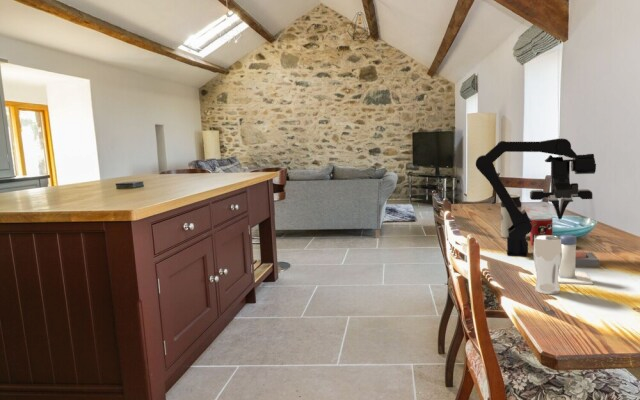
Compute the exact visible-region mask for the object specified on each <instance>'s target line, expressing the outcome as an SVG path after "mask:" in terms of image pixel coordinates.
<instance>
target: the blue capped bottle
mask: <svg viewBox="0 0 640 400" xmlns="http://www.w3.org/2000/svg"><path fill="white" fill-rule="evenodd" d="M559 237H561V245H562V259H561V265H560V270H559V271H560V276H561V277H564V278H574V277H575V272H576V267H575V260H576V251H577V236H575V235H570V234H562V235H559Z"/></svg>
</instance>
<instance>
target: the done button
mask: <svg viewBox="0 0 640 400" xmlns="http://www.w3.org/2000/svg"><path fill="white" fill-rule="evenodd" d="M586 252H587V251H584V250H576V258H586Z"/></svg>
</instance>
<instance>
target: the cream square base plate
mask: <svg viewBox="0 0 640 400" xmlns="http://www.w3.org/2000/svg"><path fill="white" fill-rule="evenodd" d="M558 284H569V285H591V286H592V285H594V283H593V281H592V280H591V278H590V277H589V276H588V275H587V273H586V272H585V271H575V277H574V278H564V277H561V276H560V270H559V275H558Z"/></svg>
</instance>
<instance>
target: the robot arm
mask: <svg viewBox="0 0 640 400" xmlns="http://www.w3.org/2000/svg"><path fill="white" fill-rule="evenodd" d="M508 152H509V153H511V152H512V153H515V152H516V153H522V152H523V153H544V154H550V155H548V157H547V158H546V159H544V162H545V163H550V191H544V190H542V189H536V190H535V189H534V190H533V189H532V190H530V192H529V199H530V200H531V201H538V200H539V201H541V200H543V199H544V198H547V200H546V201H548V202H549V203H551V204H552V206H553V207H554V210H555V214H556V216H557V219H558V220H562V218H563V216H564V213H565V211H566V208H567V207H568V205H569V204H570V203H571V202H574V200H573V198H580V199H582V200H593V191H592V190H590V189H582V188H581V189H579V184H578V182H574V183H573V182H572V183H570V181H571V180H570V175H571V173H570V171H571V172H574V174H575V175H592V174H593V175H594V174H595V173H596V171H597V163H596V159H595V154H594V153H586V154H576V152H575V151H574V150H573V148H572V144H571V142H570V141H569V139H567V138H563V137H562V138H559V137H558V138H553V139H547V140H542V141H541V140H540V141H505V140H501V141H499V142H498V143H497V144H496V145H495V146H493V148H492V149H490V150H489V151H488V152H487V153H486V154H483V155H482V154H481V155H480V156H478V157H477V158H476V161H475V167H476V169H477V170H478V171H479V172H480V173H481V175H482V176H483V177H485V179H486V180H487V181H488V182H489V184H490V185H491V187H492V189H493V190H494V192H495V193H496V195H497V197H498V199H499V200H500V201H501V202H502V203H503V205H504V207H505V208H506V210H507V211H508V213H509V216H510V218H511V221H512V223H513V225H512V226H511V227H510V228H508V229H507V231H508V235H509V236H507V238H506V256H512V257H513V256H521V257H522V256H523V257H526V256H528V253H529V242H528V240H527V235H528V234H531V229H532V225H531V223H530V222H532V220H531V217H529V216H528V213H527V211H526V210H525V209H523V210H521V211H520V210H519V209H518V207H517V206H516V204H515V203H514V201H513V200H512V198H511V196H510V195H509V194H510V193H509V192H508V190H507V188H506V187H505V185H504V183H503V181H502V180H501V178H500V177H499V175H498V172H497V170H496V167H495V165H494V162H495V161H496V160H498V159H499V158H500V156H502V155H503V154H504V153H508ZM553 155H556V156H553ZM563 156H564V157H566V158H569V159H564V157H563ZM559 199H560V200H559ZM501 202H500V203H501Z"/></svg>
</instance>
